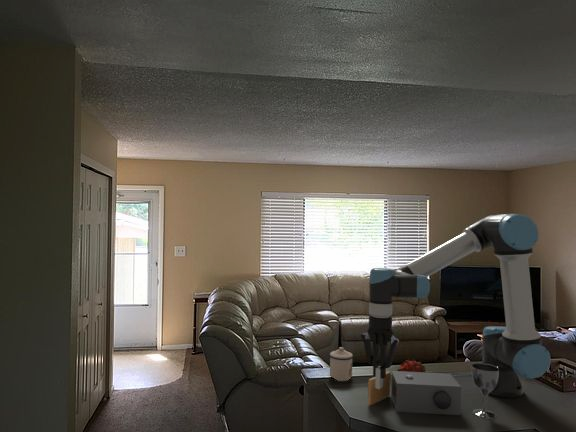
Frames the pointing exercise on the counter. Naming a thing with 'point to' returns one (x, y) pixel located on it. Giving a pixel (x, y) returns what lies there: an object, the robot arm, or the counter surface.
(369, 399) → the door
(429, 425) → the counter surface
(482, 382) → the wine glass
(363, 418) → the counter surface
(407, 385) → the camera case
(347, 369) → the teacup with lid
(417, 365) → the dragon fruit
